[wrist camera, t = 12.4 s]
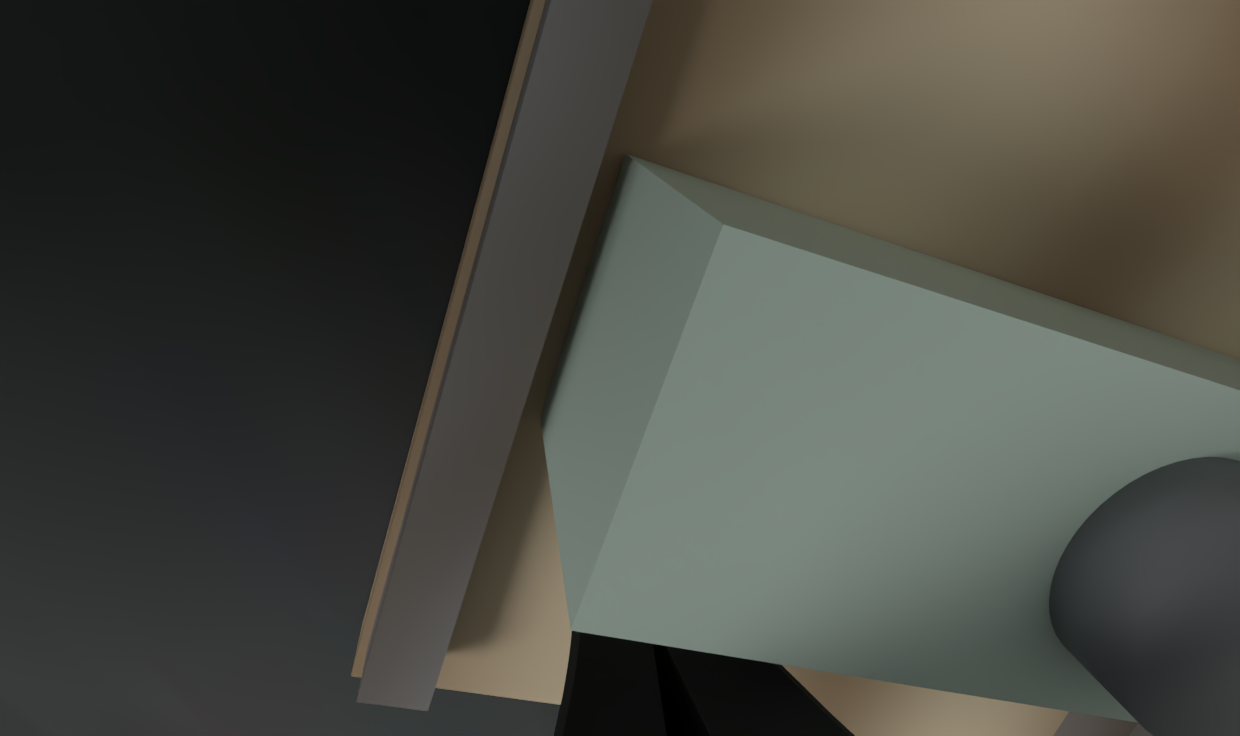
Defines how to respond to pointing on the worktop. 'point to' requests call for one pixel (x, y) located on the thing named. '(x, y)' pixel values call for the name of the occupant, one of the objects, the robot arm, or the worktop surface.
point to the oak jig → (820, 187)
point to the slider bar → (890, 467)
